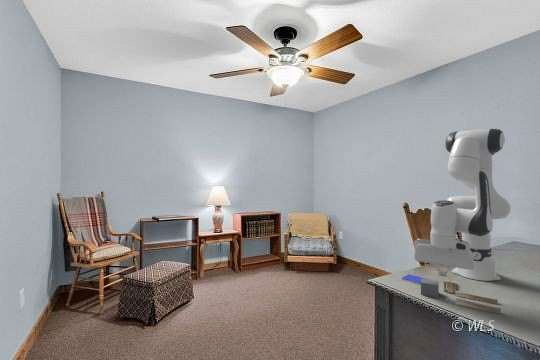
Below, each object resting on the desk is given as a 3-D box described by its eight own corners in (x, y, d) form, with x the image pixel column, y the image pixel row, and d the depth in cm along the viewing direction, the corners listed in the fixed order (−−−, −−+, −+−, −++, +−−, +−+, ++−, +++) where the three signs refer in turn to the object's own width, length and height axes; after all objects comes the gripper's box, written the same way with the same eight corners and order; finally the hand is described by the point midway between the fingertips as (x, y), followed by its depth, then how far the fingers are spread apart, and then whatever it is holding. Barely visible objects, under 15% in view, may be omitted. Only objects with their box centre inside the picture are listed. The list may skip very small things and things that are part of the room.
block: (421, 290, 117) (422, 278, 117) (438, 293, 113) (438, 281, 113) (420, 294, 112) (420, 282, 112) (438, 298, 108) (438, 285, 108)
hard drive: (437, 280, 125) (408, 273, 134) (431, 285, 119) (401, 277, 128) (437, 284, 125) (408, 277, 134) (431, 288, 119) (401, 280, 128)
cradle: (444, 289, 117) (444, 279, 117) (496, 299, 107) (496, 288, 107) (442, 301, 105) (442, 290, 105) (500, 313, 96) (501, 301, 96)
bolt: (447, 282, 126) (447, 275, 126) (453, 283, 125) (453, 276, 125) (447, 292, 114) (447, 284, 114) (452, 293, 113) (452, 285, 113)
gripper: (412, 239, 114) (412, 272, 114) (474, 247, 102) (474, 284, 102) (415, 236, 119) (414, 268, 119) (474, 243, 107) (473, 278, 107)
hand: (442, 275), depth 111 cm, fingers closed
